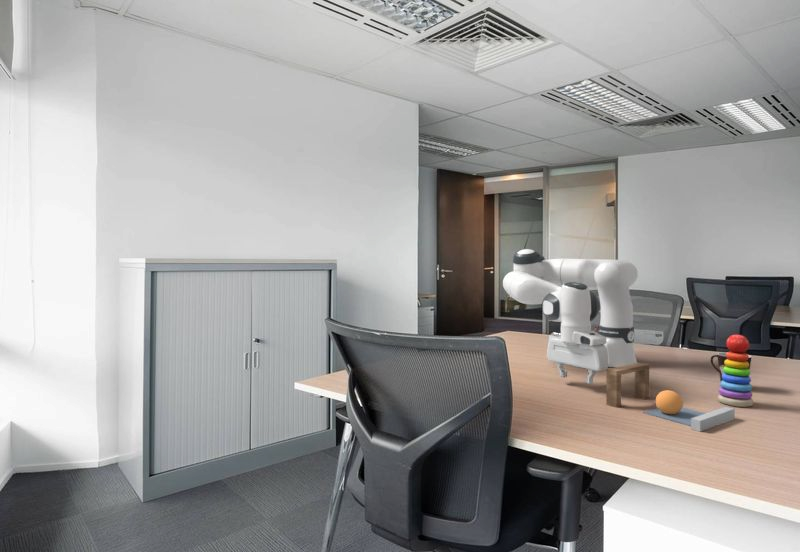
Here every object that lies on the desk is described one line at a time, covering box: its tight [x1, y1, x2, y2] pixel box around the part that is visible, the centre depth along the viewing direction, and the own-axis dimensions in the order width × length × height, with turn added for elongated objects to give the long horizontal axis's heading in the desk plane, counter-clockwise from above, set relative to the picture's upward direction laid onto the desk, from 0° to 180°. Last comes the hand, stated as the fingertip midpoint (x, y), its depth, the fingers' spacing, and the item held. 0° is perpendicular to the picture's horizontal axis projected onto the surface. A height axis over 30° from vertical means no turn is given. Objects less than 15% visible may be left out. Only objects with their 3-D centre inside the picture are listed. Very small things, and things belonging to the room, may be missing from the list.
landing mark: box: [642, 407, 706, 427], centre depth 122 cm, size 12×12×1 cm
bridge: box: [605, 362, 650, 408], centre depth 134 cm, size 3×15×10 cm, turn 122°
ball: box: [655, 389, 683, 415], centre depth 123 cm, size 6×6×6 cm
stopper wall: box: [690, 406, 736, 432], centre depth 115 cm, size 2×16×2 cm, turn 121°
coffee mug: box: [710, 351, 752, 382], centre depth 148 cm, size 12×9×10 cm
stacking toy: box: [717, 334, 754, 408], centre depth 131 cm, size 8×8×19 cm
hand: (575, 380), depth 149 cm, fingers open, 8 cm apart
